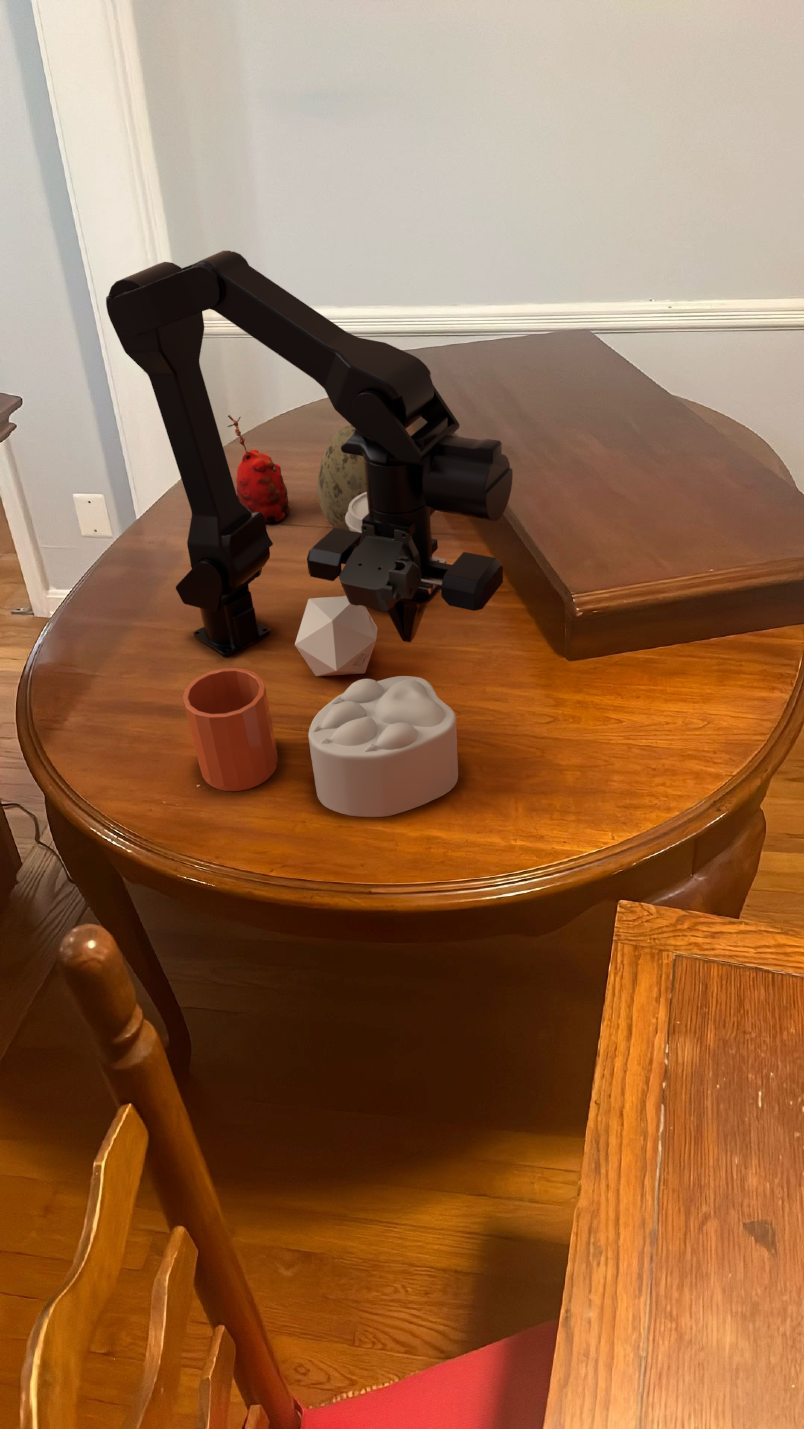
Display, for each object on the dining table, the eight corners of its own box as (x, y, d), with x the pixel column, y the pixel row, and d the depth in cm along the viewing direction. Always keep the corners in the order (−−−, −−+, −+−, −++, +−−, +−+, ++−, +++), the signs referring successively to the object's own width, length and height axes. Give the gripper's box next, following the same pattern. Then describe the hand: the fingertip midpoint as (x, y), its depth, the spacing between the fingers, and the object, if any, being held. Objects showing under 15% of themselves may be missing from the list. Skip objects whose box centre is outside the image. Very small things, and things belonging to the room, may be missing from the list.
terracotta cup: (186, 767, 97) (167, 693, 91) (247, 731, 100) (232, 658, 95) (231, 802, 92) (214, 728, 87) (293, 763, 96) (280, 689, 90)
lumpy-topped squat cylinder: (470, 787, 92) (468, 713, 86) (340, 835, 88) (330, 762, 83) (420, 725, 99) (416, 654, 94) (299, 767, 96) (287, 695, 90)
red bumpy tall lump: (297, 520, 135) (282, 414, 126) (247, 532, 134) (229, 425, 124) (280, 498, 141) (265, 394, 132) (233, 509, 139) (214, 405, 130)
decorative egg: (307, 543, 130) (292, 434, 121) (355, 509, 137) (345, 403, 128) (373, 563, 125) (363, 450, 116) (420, 527, 132) (414, 417, 123)
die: (351, 706, 104) (396, 623, 101) (273, 667, 102) (317, 582, 100) (354, 684, 112) (396, 606, 109) (283, 647, 110) (323, 568, 108)
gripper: (266, 523, 90) (289, 663, 99) (455, 558, 83) (460, 706, 92) (327, 472, 97) (343, 607, 107) (505, 500, 90) (505, 642, 100)
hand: (408, 639), depth 101 cm, fingers closed
